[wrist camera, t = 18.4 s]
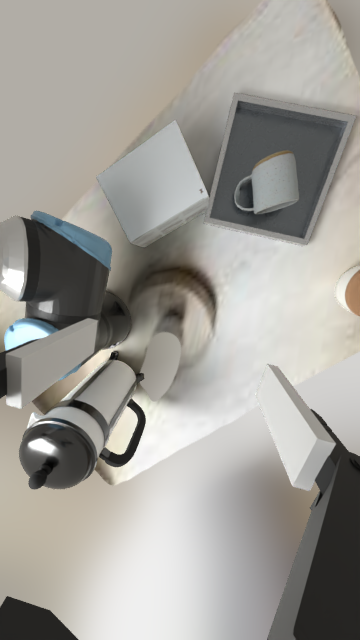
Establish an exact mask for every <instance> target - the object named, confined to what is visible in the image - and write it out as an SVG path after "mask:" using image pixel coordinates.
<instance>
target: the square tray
mask: <svg viewBox="0 0 360 640" xmlns="http://www.w3.org/2000/svg"><path fill="white" fill-rule="evenodd" d="M355 118H356V116H354V115H349V114H344V113H339V112H333V111H328V110H323V109H318V108H312V107H307V106H302V105H297V104H292V103H286V102H281V101H276V100H271V99H265V98H260V97H255V96H250V95H244V94H239V93H234V96H233V100H232V104H231V109H230V113H229V117H228V121H227V125H226V130H225V134H224V138H223V142H222V146H221V151H220V155H219V159H218V163H217V168H216V172H215V176H214V180H213V184H212V189H211V193H210V197H209V207H208V209H207V210H206V214H205V218H204V224H207V225H211V226H216V227H220V228H225V229H229V230H233V231H238V232H242V233H247V234H251V235H256V236H260V237H264V238H269V239H273V240H278V241H282V242H287V243H291V244H295V245H300V246H305V245H307V244H308V242H309V239H310V237H311V234H312V231H313V229H314V226H315V223H316V221H317V218H318V216H319V213H320V210H321V208H322V205H323V202H324V200H325V197H326V195H327V192H328V189H329V187H330V184H331V181H332V179H333V176H334V174H335V171H336V168H337V166H338V163H339V160H340V158H341V155H342V152H343V150H344V147H345V145H346V142H347V139H348V137H349V134H350V131H351V129H352V126H353V124H354V121H355ZM285 150H288V151H291V152H293V154H294V157H295V161H296V172H297V181H298V191H299V200H298V201H297V202H295V203H294V204H291V205H289V206H287V207H284V208H281V209H278V210H274V211H271V212H267V213H263V214H255V213H254V210H253V211H245V210H241V209H240V208H238V207H237V205H236V204H235V199H234V194H235V190H236V187H237V185H238V184H239V182H240V181H242V180H243V179H244V178H246V177H248V176H250V175H252V170H253V168H254V166H255V165H256V164H257V163H258V162H259V161H260V160H262V159H264V158H265V157H267V156H269V155H271V154H274V153H276V152H280V151H285ZM239 201H240V206H242V207H243V208H253V207H254V204H253V187H252V179H250V180H248V181H247V182H245V183H244V184H243V185H242V186H241V188H240V194H239Z"/></svg>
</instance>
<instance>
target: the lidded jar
mask: <svg viewBox="0 0 360 640" xmlns="http://www.w3.org/2000/svg"><path fill="white" fill-rule="evenodd" d="M334 295H335V299H336V301H337V302H338V304H339V305H340V306H341V307H342V308H344V309H345V310H347V311H348V312H350V313H353V314H355V315H358V316H360V265H358V266H355V267H353V268H351V269H349V270H348V271H346V272H345V273H344V274H343V275H341V277H340V278H339V279H338V281H337V283H336V285H335V289H334Z"/></svg>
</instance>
